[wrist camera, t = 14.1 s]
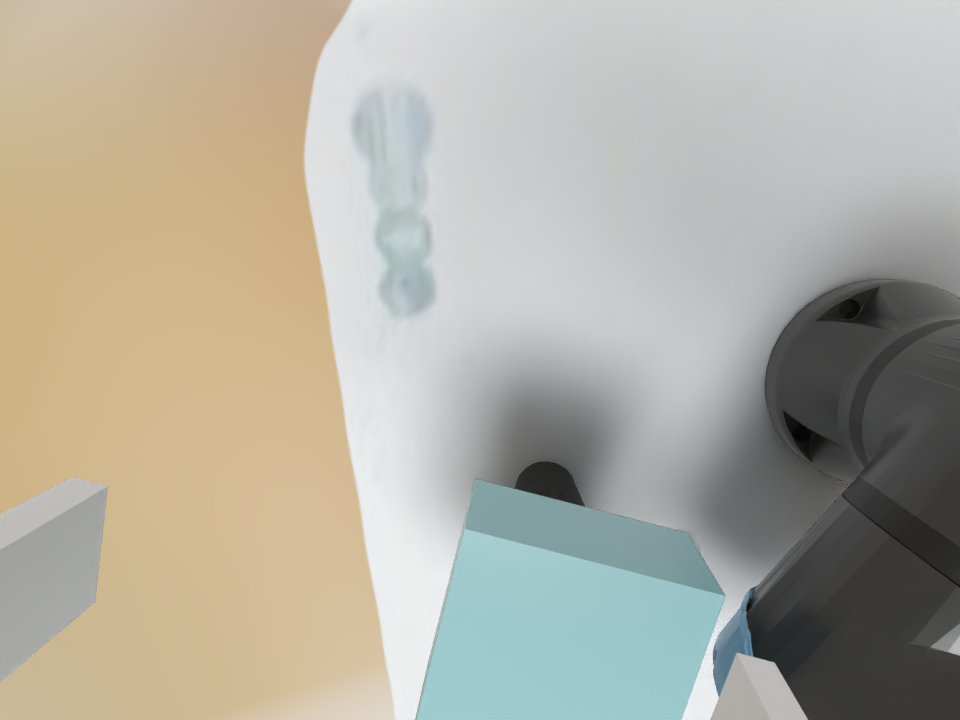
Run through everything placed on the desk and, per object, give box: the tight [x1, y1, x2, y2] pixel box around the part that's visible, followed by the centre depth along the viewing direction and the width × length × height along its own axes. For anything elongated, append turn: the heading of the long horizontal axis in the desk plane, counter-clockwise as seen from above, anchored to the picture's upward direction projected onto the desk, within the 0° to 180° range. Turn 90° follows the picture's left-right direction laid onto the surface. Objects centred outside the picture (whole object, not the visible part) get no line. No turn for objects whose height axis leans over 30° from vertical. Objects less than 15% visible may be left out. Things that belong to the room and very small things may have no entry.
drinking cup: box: [515, 462, 585, 507], centre depth 38 cm, size 8×8×20 cm
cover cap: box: [415, 479, 725, 720], centre depth 30 cm, size 12×12×6 cm
